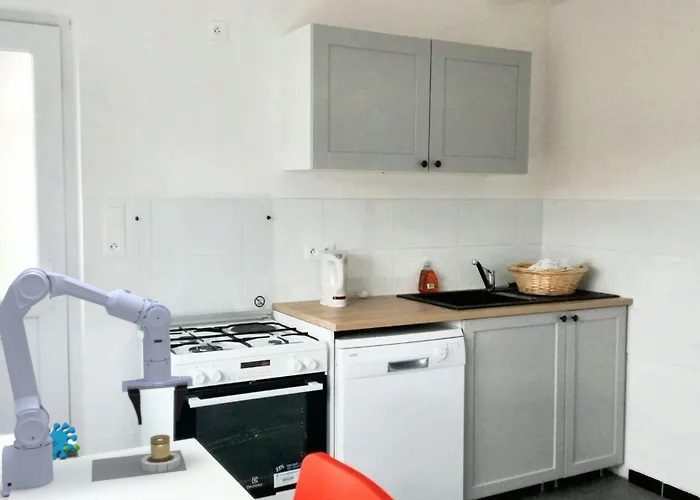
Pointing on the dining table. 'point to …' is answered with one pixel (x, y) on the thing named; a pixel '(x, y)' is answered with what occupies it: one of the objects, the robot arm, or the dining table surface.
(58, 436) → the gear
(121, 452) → the dining table surface
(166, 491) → the dining table surface
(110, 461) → the housing plate
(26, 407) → the robot arm
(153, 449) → the brass shaft
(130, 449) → the dining table surface
